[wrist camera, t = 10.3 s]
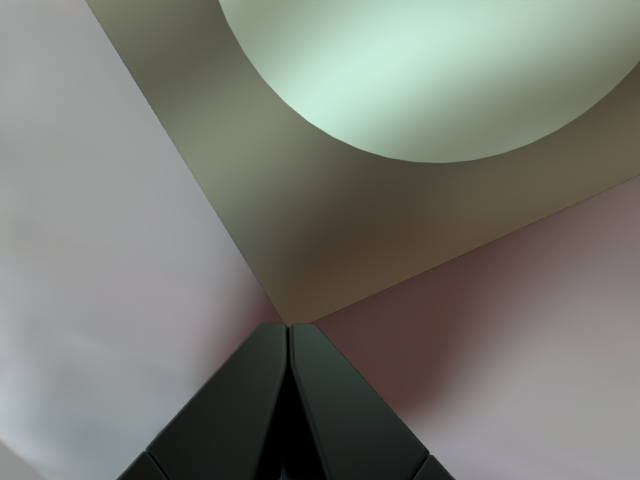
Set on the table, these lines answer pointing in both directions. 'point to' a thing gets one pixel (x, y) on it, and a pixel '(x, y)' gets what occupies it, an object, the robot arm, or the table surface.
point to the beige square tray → (344, 167)
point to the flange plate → (438, 68)
